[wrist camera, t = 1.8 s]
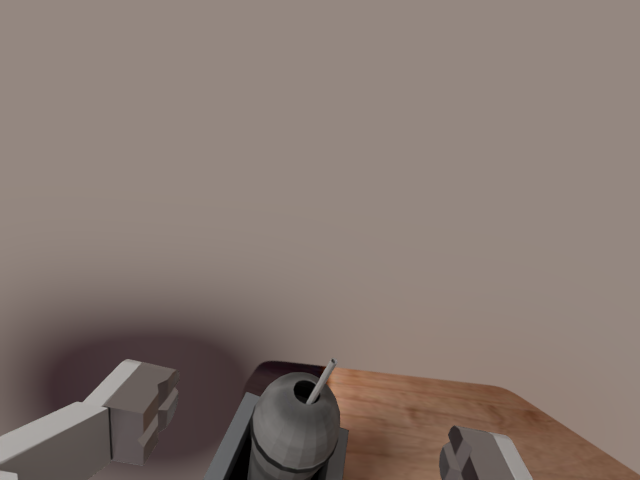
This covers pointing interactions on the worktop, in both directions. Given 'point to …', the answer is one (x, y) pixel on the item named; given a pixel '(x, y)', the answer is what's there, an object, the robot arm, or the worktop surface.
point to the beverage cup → (294, 427)
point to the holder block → (241, 430)
